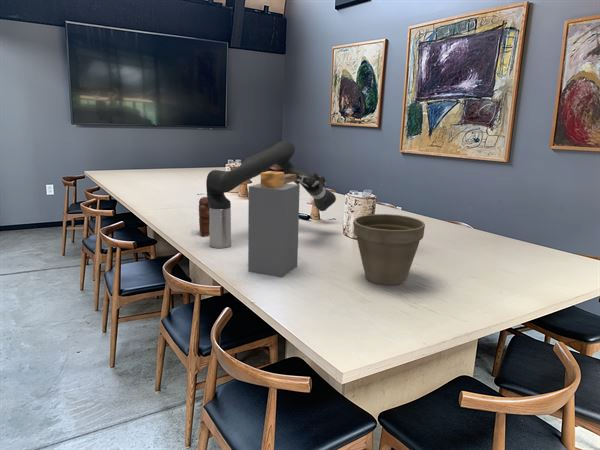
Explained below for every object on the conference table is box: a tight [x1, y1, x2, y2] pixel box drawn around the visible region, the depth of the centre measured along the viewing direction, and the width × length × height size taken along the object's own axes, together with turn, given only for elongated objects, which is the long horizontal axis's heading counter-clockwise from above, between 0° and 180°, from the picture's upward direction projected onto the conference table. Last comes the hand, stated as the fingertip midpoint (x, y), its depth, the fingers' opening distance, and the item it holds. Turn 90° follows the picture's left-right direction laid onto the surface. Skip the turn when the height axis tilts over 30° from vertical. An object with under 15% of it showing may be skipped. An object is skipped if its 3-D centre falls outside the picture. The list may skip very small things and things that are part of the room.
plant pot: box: [353, 213, 426, 286], centre depth 168 cm, size 25×25×22 cm
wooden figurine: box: [198, 196, 210, 237], centre depth 223 cm, size 12×6×18 cm, turn 16°
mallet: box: [260, 170, 296, 188], centre depth 174 cm, size 6×22×5 cm, turn 158°
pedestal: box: [247, 182, 301, 278], centre depth 174 cm, size 14×14×32 cm
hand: (304, 174), depth 196 cm, fingers open, 8 cm apart
